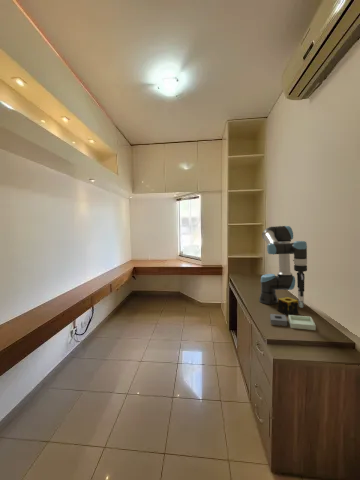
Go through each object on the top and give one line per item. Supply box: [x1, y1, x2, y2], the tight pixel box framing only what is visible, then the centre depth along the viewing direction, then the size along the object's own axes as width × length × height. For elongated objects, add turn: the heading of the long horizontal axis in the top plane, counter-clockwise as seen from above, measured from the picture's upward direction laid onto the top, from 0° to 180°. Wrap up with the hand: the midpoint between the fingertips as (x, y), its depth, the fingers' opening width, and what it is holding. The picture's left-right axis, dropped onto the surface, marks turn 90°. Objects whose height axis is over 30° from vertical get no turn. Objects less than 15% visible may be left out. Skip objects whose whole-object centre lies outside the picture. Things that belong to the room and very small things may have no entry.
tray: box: [287, 314, 317, 331], centre depth 151 cm, size 14×14×3 cm
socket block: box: [269, 313, 288, 327], centre depth 155 cm, size 10×10×4 cm
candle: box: [277, 296, 299, 316], centre depth 171 cm, size 10×10×10 cm
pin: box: [297, 287, 305, 308], centre depth 149 cm, size 3×3×12 cm
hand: (301, 299), depth 149 cm, fingers closed on pin, 3 cm apart
